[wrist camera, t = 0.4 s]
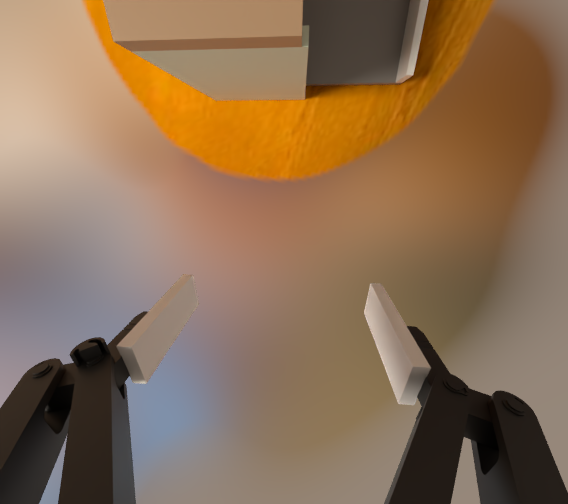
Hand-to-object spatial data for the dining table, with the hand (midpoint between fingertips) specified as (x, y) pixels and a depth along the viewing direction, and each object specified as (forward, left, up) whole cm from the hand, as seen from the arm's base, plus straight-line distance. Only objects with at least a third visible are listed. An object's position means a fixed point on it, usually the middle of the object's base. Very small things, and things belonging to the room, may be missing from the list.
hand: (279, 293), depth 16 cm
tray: (-26, +8, -27) cm, 38 cm away
